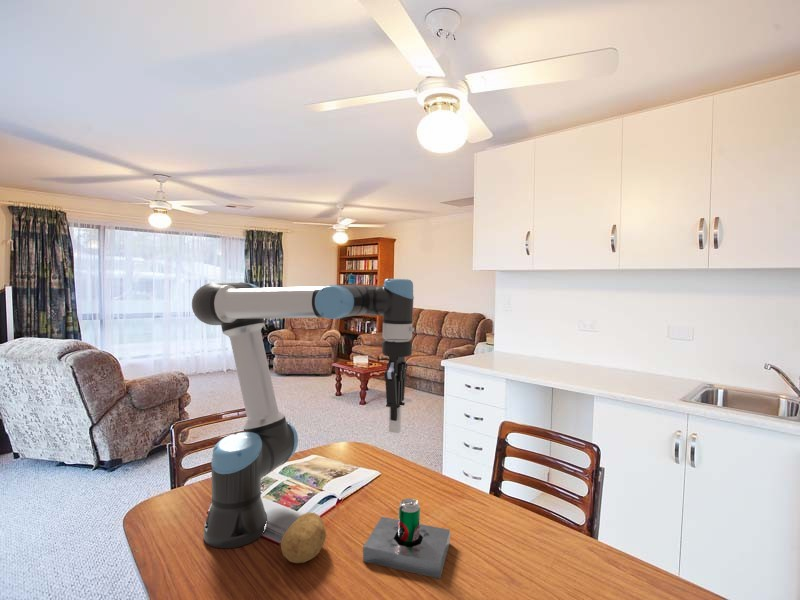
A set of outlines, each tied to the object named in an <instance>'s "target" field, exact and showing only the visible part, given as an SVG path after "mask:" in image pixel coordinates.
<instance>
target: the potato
mask: <svg viewBox="0 0 800 600" xmlns="http://www.w3.org/2000/svg"><path fill="white" fill-rule="evenodd" d="M326 534H327V533H326V529H325V525H324V522H323V520H322V518H321V516H320V515H319V514H317V513H315V512H305V513H303V514H301V515H299V516H298V518H296V519H295V520H294V521H293V522H292V524H291V525H290V526H289V527H288V528H287V529H286V531H285V532H284V534H283V536H282V538H281V539H280V540H281V541H280V548H281V552H282V556H283V557H284V558H285V559H287V561H288V562H290V563H293V564H304V563H307V562H308V561H311V560H312V559H313V558H315V557H317V555H318V554H319V553H320V552H321V549H323V546H324V543H325V542H326V541H325V540H326V536H327V535H326Z"/></svg>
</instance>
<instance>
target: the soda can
mask: <svg viewBox="0 0 800 600" xmlns="http://www.w3.org/2000/svg"><path fill="white" fill-rule="evenodd" d="M420 519H421V506H420V504H419V501H418V500H417V499H414V498H409V497H408V498H404V499H402V500H401V501H400V504H399V505H398V520H399V523H398V544H399V545H401V546H406V547H413V546H416V545H419V530H420V524H421V523H420V522H421V520H420Z"/></svg>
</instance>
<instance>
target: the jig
mask: <svg viewBox="0 0 800 600" xmlns="http://www.w3.org/2000/svg"><path fill="white" fill-rule="evenodd" d="M398 523H399V519H395V518H390V517H386V516H380V518H379V520H378V521H377V523H376V524H375V526H374V528H373V530H372V532H371V533H370V534H369V537H368V538H367V540H366V542H365V543H364V545H363V547H362V548H363V549H362V550H363V551H362V562H364V563H367V564H372V565H377V566H382V567H385V568H390V569H394V570H399V571H404V572H408V573H412V574H417V575H422V576H426V577H430V578H435V579H441V577H442V574H443V569H444V566H445V562H446V559H447V555H448V552H449V547H450V544H451V529H448V528H444V527H443V528H442V527H438V526H432V525H429V524H428V525H426V524H423V523H422V524H421V523H420V530H419V545H416V546H413V547H406V546H401V545H399V544H398Z"/></svg>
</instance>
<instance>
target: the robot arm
mask: <svg viewBox="0 0 800 600" xmlns="http://www.w3.org/2000/svg"><path fill="white" fill-rule="evenodd" d="M191 299H192V301H191V309H192V312H193V313H194V315H195V317H196V318H197V319H198V320H199V321H200V322H202V323H204V324H206V325H209V326H221V332H222V334H224V335H225V336H227V337H228V338H229V340H230V345H231V350H232V354H233V359H234V363H235V368H236V373H237V378H238V382H239V386H240V392H241V396H242V399H243V400H242V401H243V404H244V409H245V414H246V418H247V420H246V422H245V423H244V425H243V427H242V429H243V431H242V432H237V433H235V434H234V433H232V434H229V435H227V436H225V437H223V438H221V439H220V440H219V441H218V442H217V443H216V444H215V445H214V447H213V449H212V458H211V462H210V465H211V506H210V508H209V511H208V514H207V517H206V519H205V522H204V525H203V539H204V542H205V543H206V544H207V545H209V546H211V547H213V548H216V549H233V548H239V547H242V546H246V545H249V544H251V543H253V542H255V541H257V540H258V539H259V538H261V537H262V536H263V535H262V533H263V531H264V526H265V524H266V521H267V522H268V514H267V512H266V510H265V506H264V502H263V500H262V496H261V493H262V491H261V489H262V488H261V487H262V479H263V478H264V477H266V476H267V475H268V474H271V473H272V472H273V471H274V470H275V469H277V468H278V467H281V466H282V465H284V464H285V463H287V462H288V461H289V460H290V459H291V457H293V456H294V454H295V453H296V451H297V448H298V445H299V444H298V443H299V438H298V437H299V436H298V432H297V430H296V428H295V426H294V425H292V423H291V422H289V421H288V420H286V415H285V414H284V413H282V412H281V411H279V409H278V404H277V399H276V395H275V390H274V386H273V381H272V377H271V372H270V368H269V362H268V358H267V354H266V349H265V346H264V341H263V335H262V328H264V326H265V325H266V324H265V320H264V319H328V320H329V319H330V320H338V319H344V318H349V317H356V316H363V315H364V316H382V336H381V337H382V338H383V339H384V340H383V341H382V344H381V345H382V346H381V347H382V348H381V349H382V350H381V353H382V355H383V356H386V357H388V361H387V364H386V369H387V370H385V371H384V372H383V375H384V378H385V379H384V380H385V395H386V397H385V398H386V400H385V401H386V405H385V407H386V408H388V409H389V411H388V413H389V415H388V433H394V434H395V433H396V434H400V432H401V431H402V427H401V426H402V406H405V404H406V402H404V400H405V391H406V389H405V388H406V381H407V380H406V379H407V371H408V370H407V369H408V366H409V365H408V363H407V362H406V361H405V360H406V359H405V358H407V357H411V356H412V354H413V353H412V352H413V341H412V338H413V332H414V331H415V327H413V320H414V319H413V318H414V317H413V314H414V313H413V312H414V299H415V297H414V282H413V281H412V280H411V279H407V278H403V279H402V278H385V279H384V281H383V285H380V286H379V285H378V286H377V285H376V286H373V285H357V284H350V285H341V284H329V285H316V286H315V285H313V286H307V285H306V286H286V287H284V286H283V287H280V286H279V287H258V285H256V284H253V283H247V282H210V283H207V284H203V285H202V286H200V287H199V288H198V289H197V290H196V291H195V293H193V296H192V298H191Z"/></svg>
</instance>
